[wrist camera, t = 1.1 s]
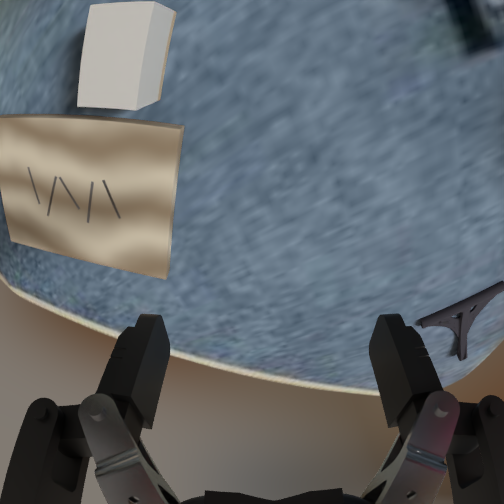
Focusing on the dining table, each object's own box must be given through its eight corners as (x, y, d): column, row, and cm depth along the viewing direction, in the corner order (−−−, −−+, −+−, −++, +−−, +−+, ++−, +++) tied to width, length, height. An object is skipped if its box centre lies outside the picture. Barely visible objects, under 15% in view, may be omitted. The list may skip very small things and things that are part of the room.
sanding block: (122, 11, 18) (90, 4, 13) (176, 12, 18) (154, 1, 14) (109, 95, 22) (77, 106, 18) (160, 99, 23) (136, 110, 18)
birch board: (2, 114, 22) (-7, 118, 21) (184, 125, 24) (180, 129, 23) (17, 234, 31) (11, 241, 30) (169, 270, 33) (165, 279, 32)
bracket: (422, 365, 45) (427, 378, 42) (418, 315, 37) (425, 330, 35) (490, 334, 40) (496, 345, 38) (500, 276, 33) (509, 289, 31)
